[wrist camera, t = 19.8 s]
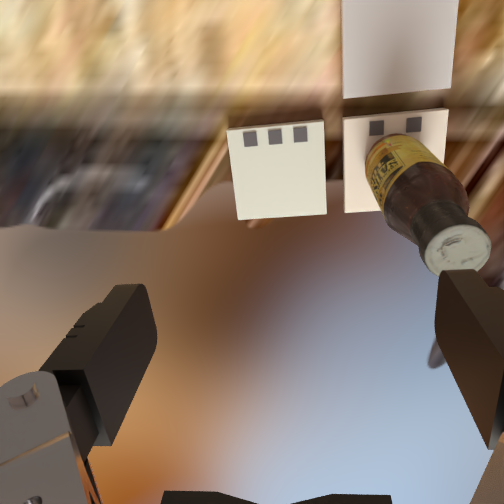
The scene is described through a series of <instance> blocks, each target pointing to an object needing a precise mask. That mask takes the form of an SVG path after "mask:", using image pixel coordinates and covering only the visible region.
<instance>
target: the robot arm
mask: <svg viewBox="0 0 504 504" xmlns="http://www.w3.org/2000/svg"><path fill="white" fill-rule="evenodd" d="M435 334H436V339H437V342H438V345H439V347H440V349H441V351H442V353H443V355H444V357H445V360H446V362H447V364H448V366H449V368H450V370H451V372H452V374H453V376H454V379H455V381H456V383H457V385H458V387H459V389H460V391H461V393H462V395H463V397H464V400H465V402H466V404H467V406H468V408H469V410H470V412H471V415H472V416H473V419H474V421H475V423H476V425H477V427H478V429H479V432H480V434H481V436H482V438H483V440H484V442H485V444H486V446H487V448H488V450H494V452H493V454H492V456H491V458H490V460H489V462H488V465H487V467H486V469H485V471H484V474H483V476H482V478H481V480H480V482H479V485H478V487H477V489H476V491H475V494H474V496H473V498H472V500H471V502H470V504H504V290H502V289H501V288H499V287H488V285H487V284H486V283H485V282H484V280H483V279H482V278H481V277H480V275H479V274H478V273H477V271H476V270H474V269H457V270H442V271H441V273H440V275H439V282H438V291H437V302H436V311H435ZM156 345H157V329H156V324H155V321H154V317H153V313H152V309H151V305H150V301H149V297H148V293H147V290H146V287H145V286H144V285H143V284H125V285H116V286H114V287H113V289H112V290H111V291H110V293H109V294H108V295H107V297H106V298H105V299H104V301H103V302H102V303H97V304H96V305H95V306H93V307H92V308H90V309H89V310H88V311H86V312H85V313H83V314H82V316H81V317H80V318H79V319H78V321H77V322H76V323H75V325H74V328H72V329H71V330H70V331H69V332H68V334H67V335H66V338H64V339H63V340H62V341H61V343H60V344H59V345H58V346H57V348H56V349H55V350H54V351H53V353H52V354H51V355H50V357H49V358H48V359H47V360H46V362H45V363H44V364H43V365H42V367H41V368H40V369H39V371H36V372H30V373H26V374H23V375H20V376H18V377H16V378H14V379H12V380H10V381H8V382H7V383H5V384H4V385H2V386H1V387H0V504H103V502H102V499H101V496H100V493H99V489H98V486H97V483H96V480H95V476H94V473H93V470H92V467H91V464H90V461H89V459H88V454H89V452H90V450H91V448H92V446H112V444H113V442H114V439H115V437H116V435H117V433H118V431H119V429H120V426H121V424H122V422H123V420H124V418H125V415H126V413H127V411H128V409H129V407H130V404H131V402H132V400H133V398H134V396H135V393H136V391H137V389H138V387H139V385H140V382H141V380H142V378H143V376H144V374H145V371H146V369H147V367H148V365H149V363H150V361H151V358H152V356H153V354H154V352H155V349H156ZM161 504H257V503H253V502H250V501H247V500H243V499H240V498H236V497H233V496H230V495H226V494H223V493H219V492H203V491H164V494H163V497H162V500H161ZM292 504H392V500H391V496H390V495H357V494H330V495H326V496H321V497H317V498H313V499H309V500H305V501H300V502H296V503H292Z"/></svg>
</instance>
